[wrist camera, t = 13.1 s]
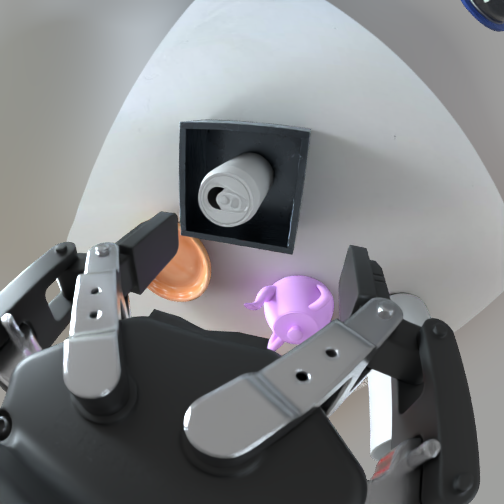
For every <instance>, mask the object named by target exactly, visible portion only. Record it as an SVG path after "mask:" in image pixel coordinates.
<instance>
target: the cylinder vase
mask: <svg viewBox="0 0 504 504" xmlns="http://www.w3.org/2000/svg"><path fill="white" fill-rule="evenodd" d="M390 299H391V301H393V302H395V303H396V304H397V305H398V306H399V307H400V308H401V309H402V311H403V319H405V320H407V321H409V322H411V323H414V324H416V325H419V326H421V327H422V325H423V323H424V322H425V320H427V319H430V318H431V317H430V314H429V312H428V310H427V307H426V305H425V303H424V302H423V301H422V300H421V299H420V298H418V297H417V296H415V295H412V294H405V293H401V294H394V295H391V296H390ZM368 385H369V402H370V432H371V433H370V436H371V437H370V439H371V440H370V449H371V450H370V456H371V458H372V459H374V460H376V461H379V460H380V459H381V458H382V457H383V456H384V455H385V454H387V453H388V452H390V451H391V438H392V389H391V377H390V376H388V375H385V374H383V373H380V372H378V371H375V370H372V371H371V372H370V374H369V375H368Z"/></svg>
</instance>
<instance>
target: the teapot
mask: <svg viewBox="0 0 504 504" xmlns="http://www.w3.org/2000/svg"><path fill="white" fill-rule="evenodd" d="M263 303H264V310H265V316H266V319H267V322H268V324H269V326H270V327H271V329H272V330H273V334H272V336H271V338H270V340H269V343H268V349H271V350H273V351H276V350H277V349H278V348H279V347H280V346H281V345H282V344H283V343H284V342H287V343H291V344H301V343H302V342H304V341H305V340H306V339H308V338H309V337H311V336H312V335H314V334H315V333H316V332H318V331H319V330H320V329H322V328H323V327H325V326H326V325H327V324H329V323H330V322H331V318H332V315H333V310H334V300H333V297H332V294H331V292H330V291H329V290H328V288H327V287H326V286H325V285H324V284H323V283H321V282H320V281H318V280H316V279H314V278H311V277H308V276H301V275H296V276H289V277H285V278H283V279H281V280H279V281H277V282H276V283H275V284H273V285H272V286H266V287H264V288H263V289H261V290H260V292H259V293H258V295H257V297H256V300H255V302H253V303H245V304H244V306H245V307H246V308H248V309H251V310H258V309H260V308H261V307H262V305H263Z"/></svg>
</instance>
